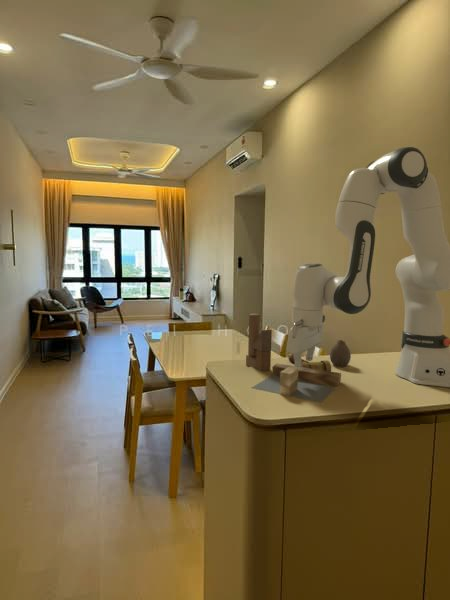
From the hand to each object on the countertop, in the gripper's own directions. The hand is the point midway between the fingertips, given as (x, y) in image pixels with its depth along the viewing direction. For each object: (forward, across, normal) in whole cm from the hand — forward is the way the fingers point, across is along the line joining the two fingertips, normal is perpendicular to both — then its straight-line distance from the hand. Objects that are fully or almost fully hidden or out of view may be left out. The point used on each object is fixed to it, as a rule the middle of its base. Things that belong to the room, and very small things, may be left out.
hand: (303, 363), depth 119 cm
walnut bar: (+6, 0, -1) cm, 6 cm away
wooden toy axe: (+6, +4, +17) cm, 19 cm away
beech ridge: (+5, -13, -1) cm, 14 cm away
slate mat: (+6, -9, -1) cm, 11 cm away
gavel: (+6, +15, +6) cm, 17 cm away
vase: (+5, +24, -5) cm, 25 cm away
